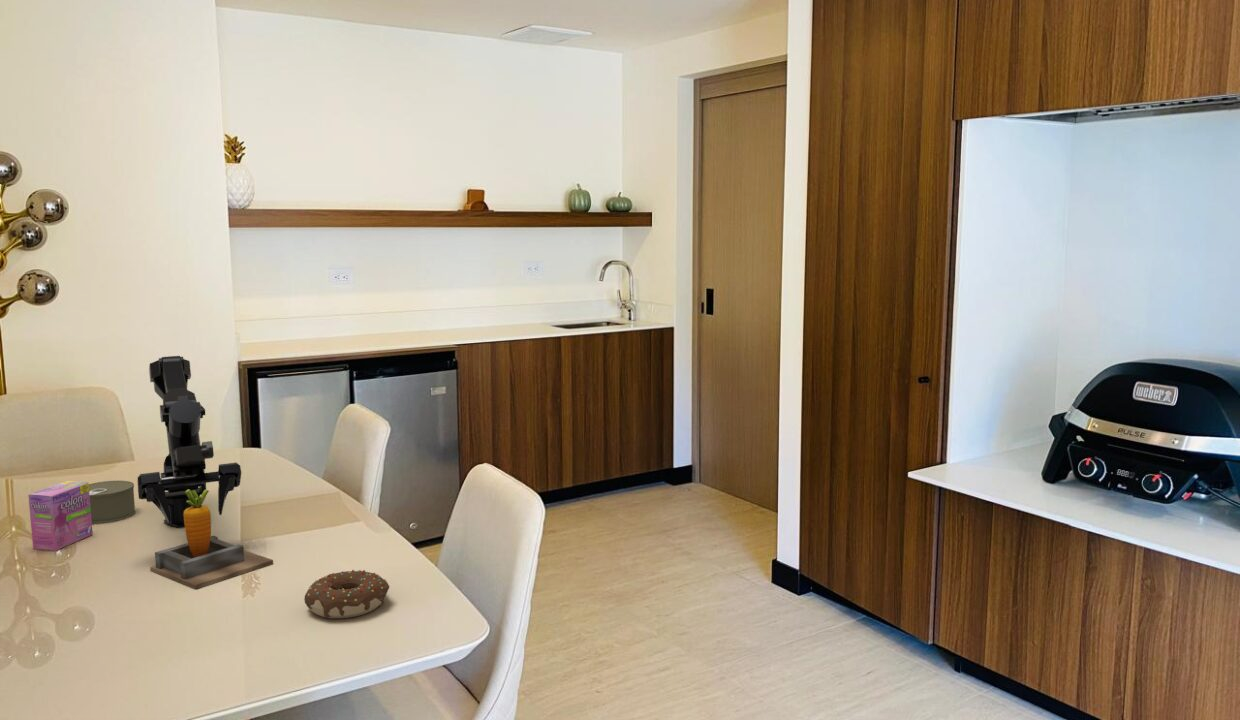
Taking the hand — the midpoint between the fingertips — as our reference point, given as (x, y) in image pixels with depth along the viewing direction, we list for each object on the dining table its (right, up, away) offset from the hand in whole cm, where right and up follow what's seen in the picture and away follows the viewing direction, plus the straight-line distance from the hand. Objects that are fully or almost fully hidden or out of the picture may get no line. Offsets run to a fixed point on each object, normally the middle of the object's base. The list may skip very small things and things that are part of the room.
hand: (195, 517), depth 184 cm
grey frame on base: (+4, -9, -2) cm, 10 cm away
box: (-34, -8, +13) cm, 37 cm away
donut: (+36, -12, -20) cm, 43 cm away
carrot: (+2, -9, -2) cm, 9 cm away
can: (-34, -5, +31) cm, 46 cm away
